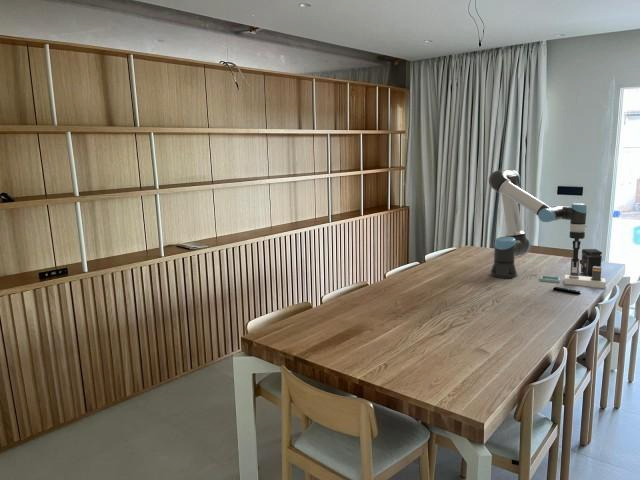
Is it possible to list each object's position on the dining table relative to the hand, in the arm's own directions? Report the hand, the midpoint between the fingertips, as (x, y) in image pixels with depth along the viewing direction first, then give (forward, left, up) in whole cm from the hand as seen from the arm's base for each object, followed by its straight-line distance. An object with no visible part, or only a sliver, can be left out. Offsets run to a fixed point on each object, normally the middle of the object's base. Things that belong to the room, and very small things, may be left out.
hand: (574, 271), depth 266 cm
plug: (0, 0, -2) cm, 2 cm away
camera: (+8, +26, -7) cm, 28 cm away
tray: (-12, 0, -7) cm, 14 cm away
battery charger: (+5, 0, -7) cm, 9 cm away
